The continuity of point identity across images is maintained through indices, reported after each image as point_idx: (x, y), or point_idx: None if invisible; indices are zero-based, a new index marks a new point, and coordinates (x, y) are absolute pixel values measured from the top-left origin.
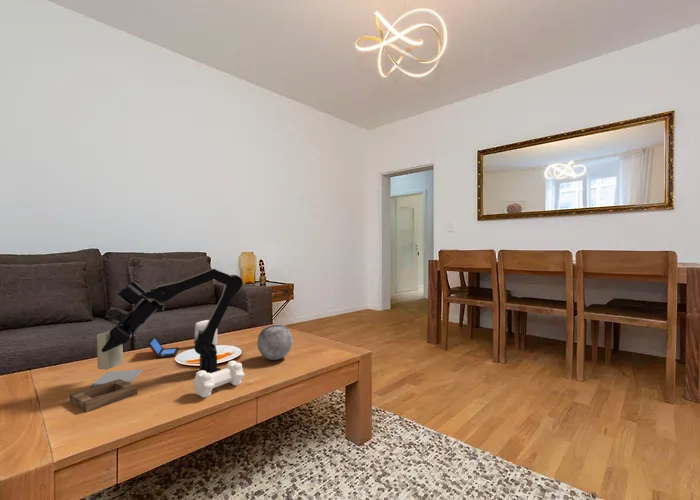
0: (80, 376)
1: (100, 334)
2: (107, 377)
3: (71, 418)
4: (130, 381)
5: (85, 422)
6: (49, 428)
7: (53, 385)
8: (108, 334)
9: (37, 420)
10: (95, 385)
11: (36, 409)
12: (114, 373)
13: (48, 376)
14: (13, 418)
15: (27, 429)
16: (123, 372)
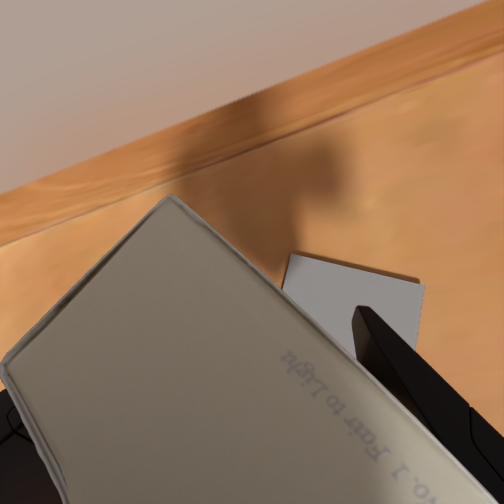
0: (423, 199)
1: (111, 259)
2: (349, 295)
3: (88, 254)
4: None
5: (50, 288)
6: (67, 225)
7: (356, 146)
8: (19, 408)
9: (120, 190)
10: (288, 267)
11: (185, 167)
12: (391, 315)
13: (467, 102)
14: (159, 141)
15: (87, 187)
16: None
